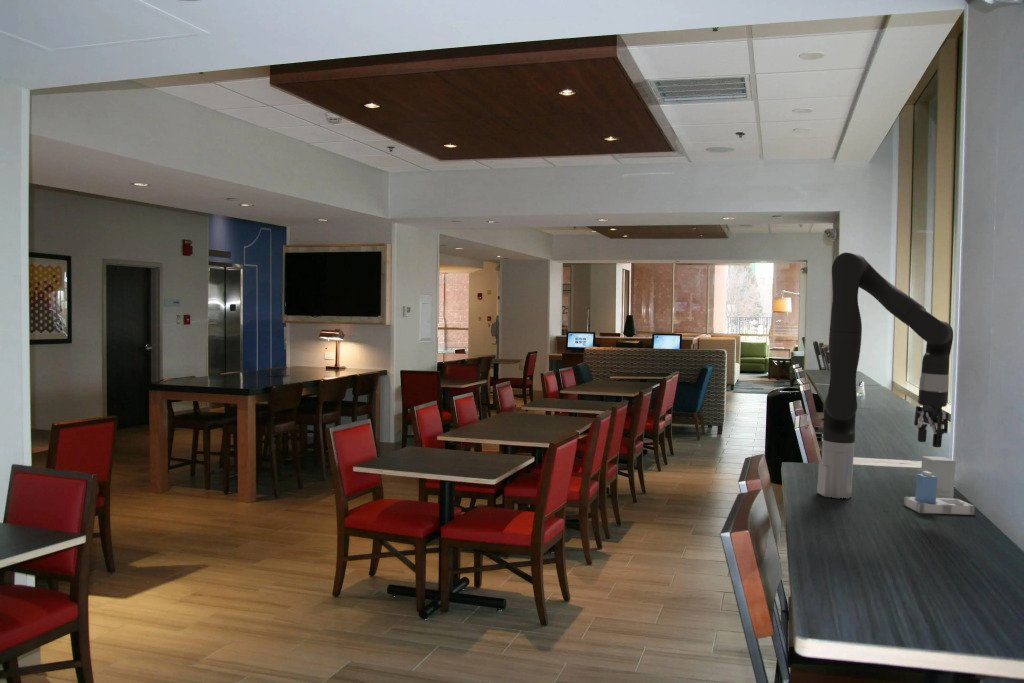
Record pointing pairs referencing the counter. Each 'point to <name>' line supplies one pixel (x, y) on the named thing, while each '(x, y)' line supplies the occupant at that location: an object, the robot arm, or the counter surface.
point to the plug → (926, 487)
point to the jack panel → (940, 506)
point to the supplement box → (941, 474)
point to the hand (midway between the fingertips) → (929, 444)
